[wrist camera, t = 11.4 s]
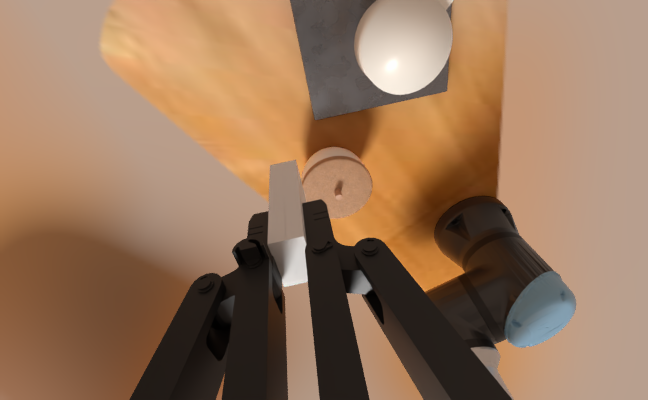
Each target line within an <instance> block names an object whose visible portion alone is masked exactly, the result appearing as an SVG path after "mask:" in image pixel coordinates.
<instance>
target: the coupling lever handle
mask: <svg viewBox="0 0 648 400" xmlns="http://www.w3.org/2000/svg"><path fill="white" fill-rule="evenodd" d="M452 2H453V0H376V1H375V2H374V3H373V4H372V5H371V6H370V7H369V8H368V9H367V10H366V12H365V13H364V14H363V16H362V18H361V20H360V22H359V24H358V26H357V30H356V33H355V40H354V51H355V56H356V60H357V63H358V65H359V67H360V68H361V70H362V71H363V73H364V74H365V75H366V76H367V77H368V78H369V79H370V80H371V81H372V82H373V83H374V85H376V86H377V87H378V88H379V89H381V90H383V91H385V92H387V93H390V94H396V95H404V94H410V93H413V92H416V91H418V90H420V89H422V88H424V87H425V86H427V85H428V84H429V83H430V82H432V81H433V80H434V79H435V78H436V77H437V75H438V74H439V73H440V72H441V70H442V69H443V67H444V65H445V64H446V61H447V59H448V57H449V54H450V51H451V46H452V39H453V31H452V24H451V21H450V18H449V15H448V13H447V11H446V10H447V8H448V7H449V6H450V4H451V3H452Z"/></svg>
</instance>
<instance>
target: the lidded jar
mask: <svg viewBox="0 0 648 400" xmlns="http://www.w3.org/2000/svg"><path fill="white" fill-rule="evenodd" d="M301 182H302V186H303V190H304V193H305V197H306V202H310V201H314V200H319V199H322V200H323V201H324V202H325V203H326V204H327V209H328V213H329V218H330V219H338V218H343V217H347V216H350V215H352V214H354V213H355V212H357V211H358V210H360V209H361V208H362V207H363V206H364V205H365V204H366V202H367V201H368V199H369V197H370V195H371V192H372V179H371V176H370V174H369V172H368V170H367V169H366V167H365V165H364V164H363V162H362V161H361V160H360V159H359V158H358V157H357V156H356V155H355V154H354V153H353V152H351V151H349V150H347V149H344V148H341V147H328V148H324V149H321V150H319V151H317V152H316V153H314V154H313V155H312V156H311V157H310V158H309V160H308V161H307V162H306V164H305V166H304V169H303V172H302V178H301Z"/></svg>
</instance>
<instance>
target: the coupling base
mask: <svg viewBox="0 0 648 400" xmlns="http://www.w3.org/2000/svg"><path fill="white" fill-rule="evenodd" d="M375 1H376V0H290V3H291V7H292V12H293V17H294V22H295V27H296V32H297V37H298V41H299V46H300V51H301V56H302V61H303V66H304V71H305V75H306V80H307V85H308V90H309V95H310V100H311V105H312V109H313V114H314V119H315V120H319V119H324V118H328V117H333V116H337V115H342V114H346V113H351V112H355V111H360V110H364V109H369V108H374V107H378V106H383V105H387V104H392V103H396V102H401V101H405V100H410V99H414V98H419V97H423V96H428V95H432V94H437V93H441V92H446V91H447V83H448V64H449V57H448V59H447V61H446V64H445V65H444V67H443V69H442V70H441V72H440V73H439V74H438V75H437V77H436V78H435V79H434V80H433V81H432V82H430V83H429V84H428V85H427V86H425V87H424V88H422V89H420V90H418V91H416V92H413V93H410V94H404V95H396V94H390V93H387V92H385V91H383V90H381V89H379V88H378V87H377V86H376V85H374V83H373V82H372V81H371V80H370V79H369V78H368V77H367V76H366V75H365V74H364V73H363V71H362V70H361V68H360V67H359V65H358V63H357V60H356V56H355V51H354V40H355V33H356V30H357V26H358V24H359V22H360V20H361V18H362V16H363V14H364V13H365V12H366V10H367V9H368V8H369V7H370V6H371V5H372V4H373V3H374V2H375ZM451 5H452V3H451V4H450V6H449V7H448V8H447V10H446V11H447V13H448V15H449V18H450V21H451Z"/></svg>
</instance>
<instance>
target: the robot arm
mask: <svg viewBox="0 0 648 400" xmlns="http://www.w3.org/2000/svg"><path fill="white" fill-rule="evenodd" d="M434 238H435V241H436V243H437V245H438V247H439V248H440V250H441V251H442V253H443V254H444V255H446V256H447V257H449V258H450V259H451V260H452V261H454V262H455V263H456V264H457V265H459V266H460V267H461V268H463V270H464V271H465V273H464V274H462V275H460V276H458V277H455V278H453V279H451V280H449V281H447V282H445V283H443V284H441V285H439V286H437V287H434V288H432V289H430V290H428V291H426V292H424V291H423V290H422V288H421V287H420V286H419V285H418V283H417V282H416V281H415V280H414V279H413V277H412V276H411V275H410V274H409V272H408V271H407V270H406V269H405V268H404V266H403V265H402V264H401V263H400V261H399V260H398V259H397V258H396V257H395V255H394V254H393V253H392V252H391V250H390V249H389V248H388V247H387V246H386V244H385V243H384V242H382V241H381V240H379V239H376V238H366V239H362V240H361V241H359V242H357V244H356V245H355V246H345V245H342V244H340V243H338V242H337V241H336V240H335V238H334V236H333V231H332V227H331V222H330V218H329V213H328V209H327V204H326V203H325V202H324V201H323V200H322V199H319V200H314V201H310V202H306V197H305V193H304V190H303V186H302V182H301V178H300V174H299V171H298V167H297V163H296V160H293V161H288V162H283V163H279V164H274V165H270V182H269V211H268V212H263V213H259V214H254V215H253V216H252V218H251V220H250V221H249V226H248V236H247V238H246V239H244V240H242V241H240V242H239V243H237V244H236V245H235V247H234V248H233V251H232V253H233V255H234V257H235V259H236V261H237V263H238V265H239V267H238V268H237V269H236V270H235V271H233V272H231V273H229V274H227V275H225V276H223V277H220V276H219V275H218V274H215V273H209V274H205V275H203V276H201V277H199V278H198V279H197V280H196V281H194V283H193V284H192V285H191V287H190V289H189V290H188V292H187V294H186V296H185V298H184V300H183V302H182V303H181V305H180V307H179V309H178V311H177V313H176V315H175V316H174V318H173V320H172V322H171V324H170V326H169V328H168V329H167V331H166V333H165V335H164V337H163V339H162V341H161V343H160V344H159V346H158V348H157V350H156V352H155V353H154V355H153V357H152V359H151V361H150V363H149V365H148V366H147V368H146V370H145V372H144V374H143V376H142V377H141V379H140V381H139V383H138V385H137V387H136V389H135V390H134V393H133V394H132V396H131V398H130V400H216V396H217V394H218V391H219V388H220V385H221V382H222V379H223V376H224V374H225V379H224V385H223V394H222V400H288V389H287V388H288V386H287V355H286V354H287V353H286V321H285V296H284V293H283V290H282V282H283V285H284V287H287V286H292V285H296V284H301V283H305V282H308V287H309V297H310V306H311V317H312V326H313V336H314V346H315V356H316V366H317V376H318V386H319V396H320V400H369V395H368V391H367V386H366V381H365V377H364V372H363V368H362V363H361V359H360V354H359V349H358V345H357V340H356V336H355V331H354V327H353V322H352V317H351V313H350V308H349V304H348V299H347V295H346V293H354V294H362V297H363V298H364V300H365V302H366V303H367V305H368V307H369V308H370V310H371V312H372V313H373V315H374V317H375V319H376V320H377V322H378V324H379V325H380V327H381V329H382V330H383V332H384V334H385V335H386V337H387V338H388V340H389V342H390V344H391V345H392V347H393V349H394V350H395V352H396V354H397V355H398V357H399V359H400V360H401V362H402V364H403V365H404V367H405V369H406V370H407V372H408V374H409V375H410V377H411V379H412V381H413V382H414V384H415V385H416V387H417V389H418V390H419V392H420V394H421V396H422V397H423V399H424V400H514V399H513V397H512V396H511V394H510V392H509V391H508V389H507V387H506V385H505V384H504V382H503V380H502V378H501V376H500V374H499V373H498V370H497V367H498V364H499V361H500V354H499V352H498V350H497V349H496V347H495V345H494V344H496V343H499V342H501V341H503V340H506V339H507V340H508V342H510V343H512V344H513V345H514V346H516V347H526V346H534V345H537V344H539V343H542V342H544V341H546V340H548V339H549V338H551V337H552V336H554V335H555V334H557V333H558V332H559V331H560V330H562V328H564V327H565V326H566V325H567V323H568V322H569V321H570V319H571V318H572V316H573V314H574V312H575V308H576V299H575V296H574V294H573V293H572V291H571V290H570V289H569V288H568V287H567V285H566V284H565V283H564V282H563V281H562V279H561V277H560V275H559V274H557V273H556V272H555V271H553V270H552V269H551V267H550V266H548V264H547V263H546V262H545V261H544V260H543V259H542V258H541V257H540V256H539V255H538V254H537V253H536V252H535V251H534V250H533V249H532V248H531V247H530V246H529V245H528V244H527V243H526V242H525V241H524V240H523V238H522V237H521V236H520V235H519V233H518V230H517V228H516V225H515V223H514V220H513V218H512V215H511V213H510V211H509V210H508V208H507V207H506V206H505V205H504V204H503V203H502V202H501V201H499V200H498V199H496V198H493V197H488V196H478V197H473V198H469V199H466V200H464V201H461V202H459V203H458V204H456V205H454V206H453V207H451V208H450V209H449V210H448V211H447V212H446V213H445V214H444V215H443V216H442V217H441V218H440V220H439V221H438V223H437V225H436V228H435V232H434Z"/></svg>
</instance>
